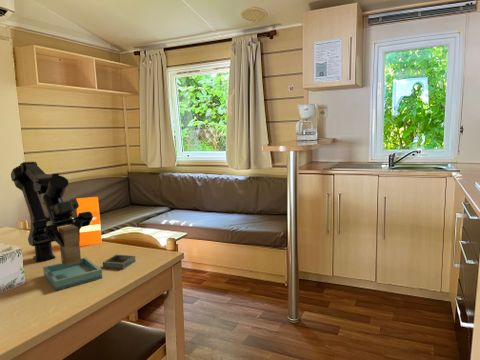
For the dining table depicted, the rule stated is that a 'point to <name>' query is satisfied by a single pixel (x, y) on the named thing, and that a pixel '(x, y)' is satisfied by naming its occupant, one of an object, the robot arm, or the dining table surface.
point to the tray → (72, 274)
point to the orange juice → (92, 231)
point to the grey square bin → (126, 258)
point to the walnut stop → (70, 245)
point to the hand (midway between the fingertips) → (71, 244)
